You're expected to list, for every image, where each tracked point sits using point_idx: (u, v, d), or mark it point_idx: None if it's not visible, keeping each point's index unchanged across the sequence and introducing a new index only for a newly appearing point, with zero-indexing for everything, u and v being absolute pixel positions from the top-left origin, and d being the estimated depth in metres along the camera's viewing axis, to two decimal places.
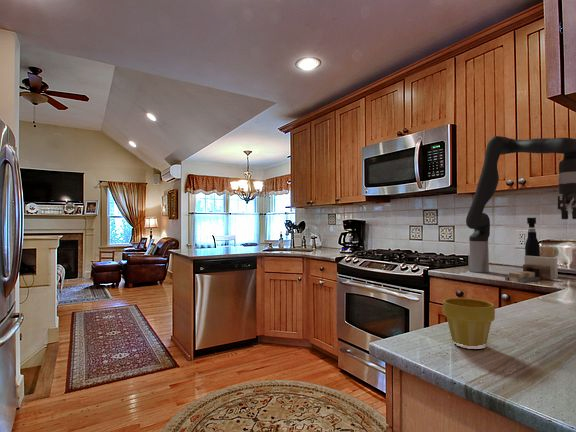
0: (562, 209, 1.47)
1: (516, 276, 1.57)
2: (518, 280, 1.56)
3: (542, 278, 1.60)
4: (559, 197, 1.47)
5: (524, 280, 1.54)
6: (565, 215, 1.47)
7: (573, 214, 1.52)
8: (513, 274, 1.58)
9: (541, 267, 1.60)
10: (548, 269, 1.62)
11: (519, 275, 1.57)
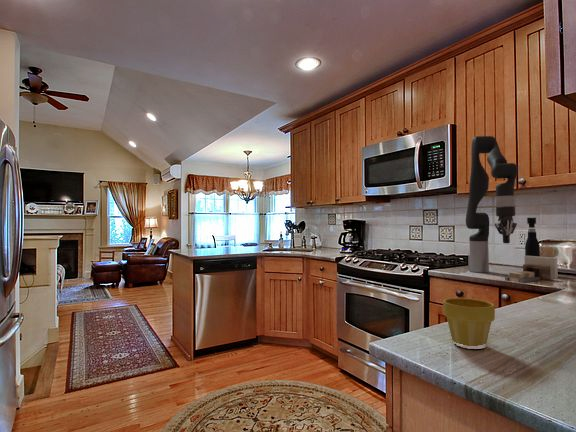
0: (503, 234, 1.55)
1: (517, 276, 1.56)
2: (518, 280, 1.56)
3: (542, 278, 1.60)
4: (496, 225, 1.54)
5: (524, 280, 1.54)
6: (506, 239, 1.55)
7: None
8: (513, 274, 1.58)
9: (541, 267, 1.60)
10: (548, 269, 1.62)
11: (519, 275, 1.57)
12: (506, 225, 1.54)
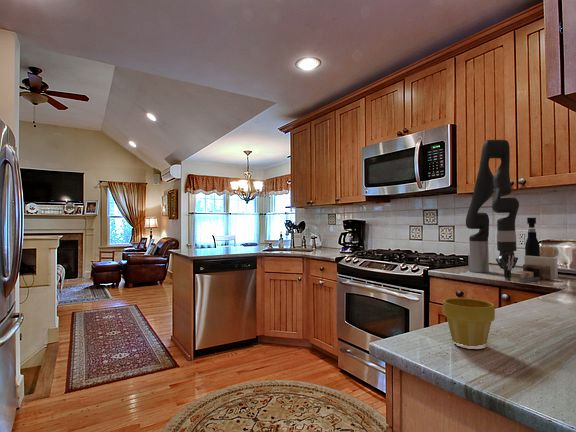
0: (504, 269, 1.54)
1: (518, 276, 1.56)
2: (519, 280, 1.56)
3: (542, 278, 1.60)
4: (497, 260, 1.54)
5: (524, 280, 1.54)
6: (507, 274, 1.54)
7: None
8: (515, 274, 1.57)
9: (541, 267, 1.60)
10: (548, 269, 1.62)
11: (521, 275, 1.56)
12: (507, 260, 1.54)
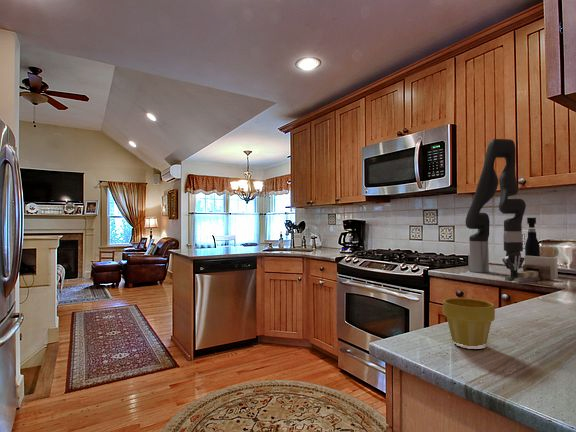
0: (510, 269, 1.57)
1: (521, 276, 1.57)
2: None
3: (542, 278, 1.60)
4: (504, 260, 1.56)
5: (524, 280, 1.54)
6: (513, 274, 1.57)
7: None
8: (518, 274, 1.58)
9: (541, 267, 1.60)
10: (548, 269, 1.62)
11: (524, 275, 1.57)
12: (514, 260, 1.56)
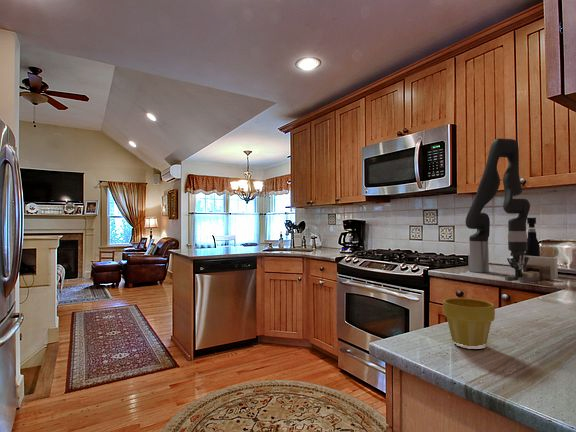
0: (515, 268, 1.58)
1: (525, 276, 1.58)
2: None
3: (542, 278, 1.60)
4: (508, 260, 1.57)
5: (524, 280, 1.54)
6: (518, 274, 1.58)
7: None
8: (522, 274, 1.59)
9: (541, 267, 1.60)
10: (548, 269, 1.62)
11: (528, 275, 1.58)
12: (518, 260, 1.57)
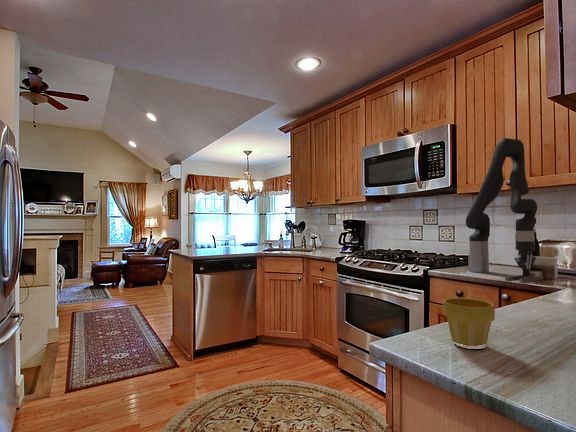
0: (523, 267, 1.60)
1: (533, 275, 1.60)
2: None
3: (546, 278, 1.61)
4: (516, 259, 1.59)
5: (524, 280, 1.54)
6: (525, 273, 1.60)
7: None
8: (529, 273, 1.61)
9: (545, 267, 1.61)
10: (552, 269, 1.63)
11: (535, 274, 1.60)
12: (526, 259, 1.59)
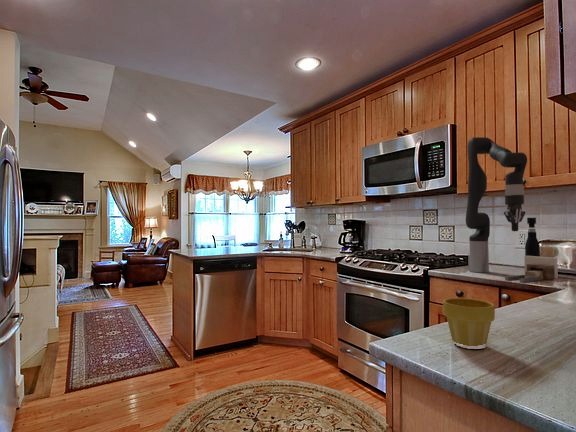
0: (512, 222, 1.58)
1: (533, 275, 1.60)
2: None
3: (546, 278, 1.61)
4: (505, 213, 1.57)
5: (524, 280, 1.54)
6: (514, 227, 1.58)
7: None
8: (529, 273, 1.61)
9: (545, 267, 1.61)
10: (552, 269, 1.63)
11: (535, 274, 1.60)
12: (515, 213, 1.57)
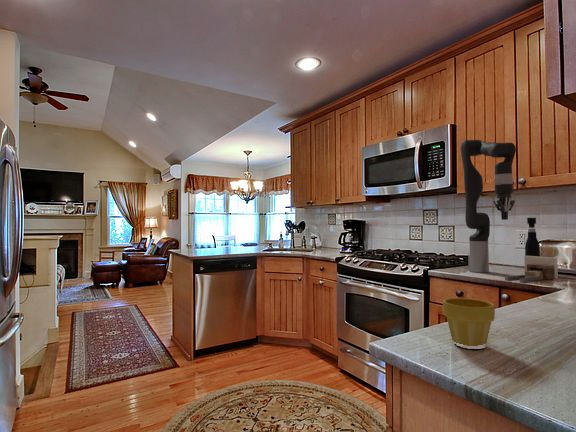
0: (501, 210, 1.61)
1: (532, 275, 1.60)
2: None
3: (546, 278, 1.61)
4: (495, 202, 1.61)
5: (524, 280, 1.54)
6: (504, 216, 1.61)
7: None
8: (529, 273, 1.61)
9: (545, 267, 1.61)
10: (552, 269, 1.63)
11: (535, 274, 1.60)
12: (504, 202, 1.60)
